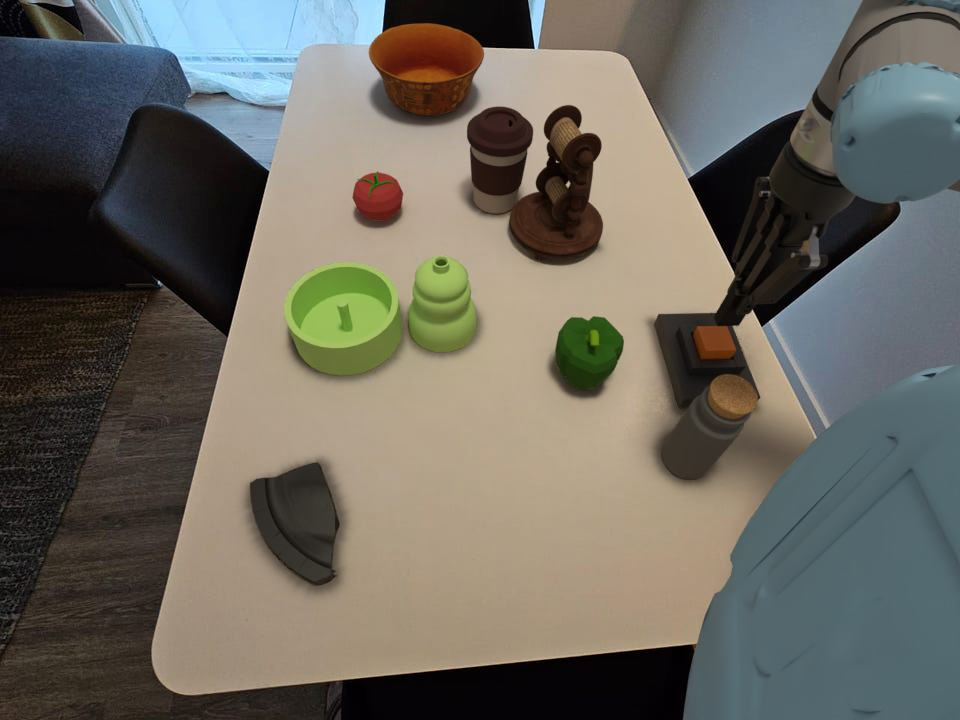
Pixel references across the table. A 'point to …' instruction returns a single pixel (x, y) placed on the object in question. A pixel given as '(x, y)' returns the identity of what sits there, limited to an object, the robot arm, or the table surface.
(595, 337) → the bell pepper
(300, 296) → the green rounded pieces
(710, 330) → the orange square block
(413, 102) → the bowl
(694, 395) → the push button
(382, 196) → the tomato
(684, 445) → the bottle
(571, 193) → the wooden spool holder
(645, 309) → the table surface
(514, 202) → the coffee cup
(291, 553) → the fan shaped piece
